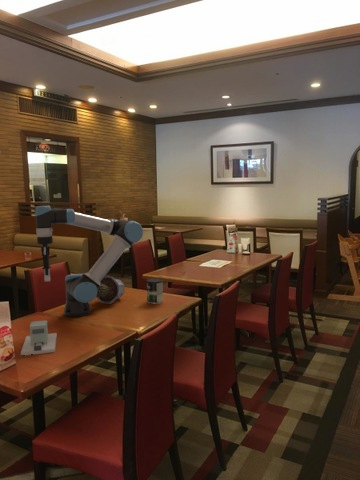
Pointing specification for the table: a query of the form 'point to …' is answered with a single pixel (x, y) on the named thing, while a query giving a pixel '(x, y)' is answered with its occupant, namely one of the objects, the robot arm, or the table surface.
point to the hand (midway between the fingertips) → (47, 280)
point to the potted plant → (110, 290)
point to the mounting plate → (39, 346)
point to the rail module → (39, 332)
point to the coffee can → (155, 290)
